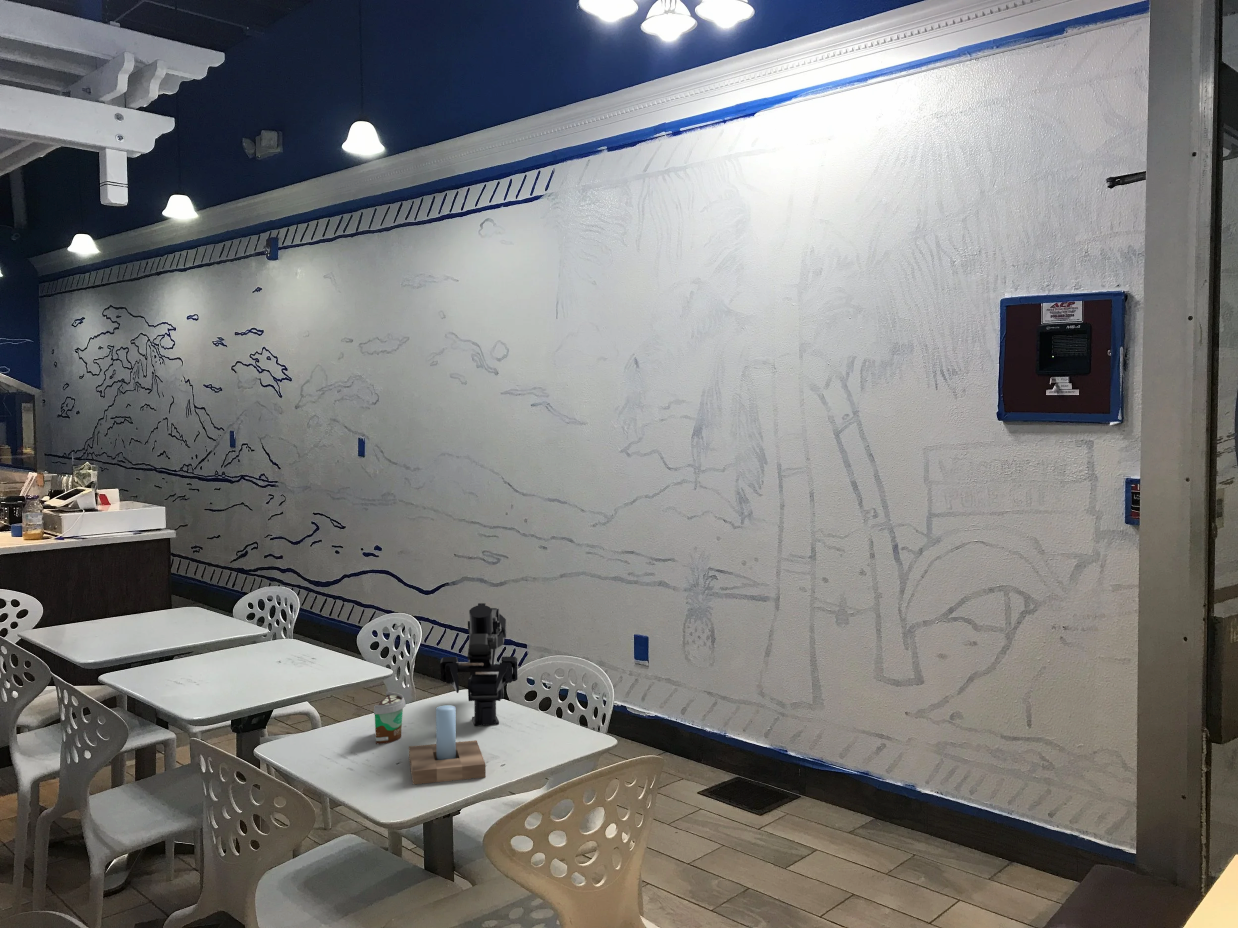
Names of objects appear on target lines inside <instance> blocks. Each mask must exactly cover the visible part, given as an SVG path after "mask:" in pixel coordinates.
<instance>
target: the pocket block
mask: <svg viewBox="0 0 1238 928" xmlns="http://www.w3.org/2000/svg"><path fill="white" fill-rule="evenodd" d="M408 760H409V761H408V762H409V767H410V774H411V780H412V785H422V783H423V784H432V783H441V782H451V781H452V780H453V781H460V780H462V781H463V780H471V778H473V779H479V778H480V779H481V778H486V776H487V775H486V765H487V764H486V762H485V760H484V756H483V753H482V751H481V748H480V745H479V743H478V740H476V739H475V740H465V741H463V740H462V741H456V759H446V760H437V755H436V743H433V744H431V743H430V744H420V745H411V746H408ZM453 781H452V782H453Z"/></svg>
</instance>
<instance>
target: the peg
mask: <svg viewBox="0 0 1238 928" xmlns="http://www.w3.org/2000/svg"><path fill="white" fill-rule="evenodd" d="M456 711H457V710H456V706H454V705H451V704H448V705H447V704H445V705H440V706H437V707H436V708H435V725H436V726H435V729H436V731H435V734H436V735H435V737H436V741H435V744H436V755H437V760H446V759H456V742H457V741H456V740H457V739H456V737H457V733H456V731H457V730H456V729H457V725H456V718H457V717H456V714H457V713H456Z"/></svg>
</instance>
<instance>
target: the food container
mask: <svg viewBox="0 0 1238 928" xmlns="http://www.w3.org/2000/svg"><path fill="white" fill-rule="evenodd" d="M385 694H386V695H385V697H384V698H382V699H381V700H380V702H379V704H377V705H374V707H373V715H374V726H375V727H374V728H375V729H374V731H375V733H374V734H375V744H376V745H382V744H383V745H384V744H385V745H386V744H389V743H390V744H391V743H393V742H396V741H398V740H400V739H401V738H402V727H403V712H404V709H405V707H406V701H405V698H404V696H403V694H401V693H398V692H393V691H386V693H385Z"/></svg>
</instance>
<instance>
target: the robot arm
mask: <svg viewBox="0 0 1238 928" xmlns="http://www.w3.org/2000/svg"><path fill="white" fill-rule="evenodd" d="M468 615H469V620H467V631H468V634H469V639H468V650H467V662H466V661H464V662H463V661H460V662H459V661H458V660H459V659H458V657H457V656H442V658H441V659H440V663H439V664H440V669H439V670H440V681H442V682H443V683H446V684H449V685H451V686H452V687H453V689H454V690H455V692H456V693H457V694H458V693H459V692H460V685H459V683H460V682H459V673H469V676H470V677H468V679H467V697H468V702H474V704H473V705H474V707H473V709H474V711H473V712H474V716H472V717H471V721H472V723H473V725H474V727H476V726H477V727H479V726H481V727H482V726H491V725H499V724H500V720H499V718H498V716H497V701H498V702H501V700H503V699H504V697H505V695H504V694H505V693H504V692H505V690H504V686H506V685H507V684H511V683H512V682H516V681H518V679H519V678H518V677H519V673H518V672H519V666H518V665H519V663H518V661H519V659H518V658H517V656H501V662H500V663H497V664H496V661H497V654H498V649H499V648H500V647H503V645H504V644H505V643H504V642H505V639H507V636H508V635H507V633H508V628H507V627H508V626H507V619H506V618H505V616H503V615H502V614H501V612H500V609H499V608H497V607H490V606H488V605H486V603H485V602H484V603H483V602H481V603H480V602H479V603H477V605H475V606H473V607H471V608H470V609H469V610H468Z"/></svg>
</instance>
